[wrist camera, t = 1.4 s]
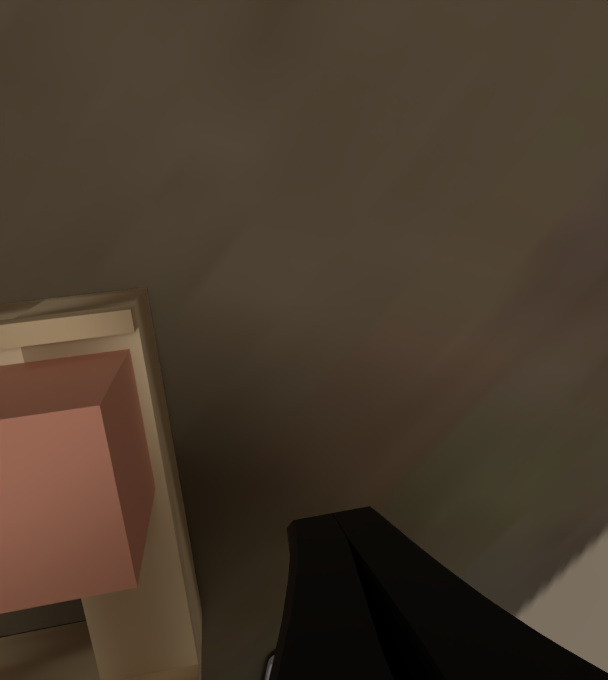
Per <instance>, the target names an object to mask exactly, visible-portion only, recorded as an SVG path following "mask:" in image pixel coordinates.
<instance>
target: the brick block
mask: <svg viewBox="0 0 608 680" xmlns="http://www.w3.org/2000/svg"><path fill="white" fill-rule="evenodd" d="M154 493H155V482H154V477H153V472H152V466H151V461H150V455H149V450H148V445H147V439H146V434H145V428H144V423H143V417H142V412H141V407H140V401H139V396H138V390H137V385H136V380H135V374H134V369H133V363H132V358H131V352H130V349H124V350H117V351H109V352H102V353H94V354H86V355H79V356H71V357H63V358H56V359H48V360H40V361H33V362H25V363H17V364H10V365H2V366H0V614H2V613H7V612H12V611H18V610H23V609H28V608H33V607H38V606H44V605H49V604H54V603H59V602H64V601H70V600H75V599H80V598H85V597H90V596H96V595H101V594H106V593H111V592H116V591H122V590H127V589H132V588H137V586H138V580H139V575H140V570H141V564H142V559H143V553H144V548H145V542H146V537H147V532H148V526H149V521H150V515H151V510H152V504H153V499H154Z"/></svg>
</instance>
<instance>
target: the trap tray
mask: <svg viewBox="0 0 608 680" xmlns="http://www.w3.org/2000/svg"><path fill="white" fill-rule="evenodd" d="M124 349H130V352H131V358H132V363H133V369H134V374H135V380H136V385H137V390H138V396H139V401H140V407H141V412H142V417H143V423H144V428H145V434H146V439H147V445H148V450H149V455H150V461H151V466H152V472H153V477H154V482H155V493H154V499H153V504H152V510H151V515H150V521H149V526H148V532H147V537H146V542H145V548H144V553H143V559H142V564H141V570H140V575H139V580H138V586H137V588H132V589H127V590H122V591H116V592H111V593H106V594H101V595H96V596H90V597H85V598H81V600H82V605H83V609H84V613H85V617H86V621H82V622H77V623H72V624H67V625H62V626H57V627H52V628H47V629H42V630H37V631H31V632H26V633H21V634H16V635H11V636H6V637H1V638H0V680H201V651H202V608H201V602H200V596H199V590H198V585H197V579H196V573H195V567H194V561H193V555H192V549H191V544H190V538H189V532H188V526H187V520H186V514H185V508H184V503H183V497H182V491H181V485H180V479H179V473H178V467H177V462H176V456H175V450H174V444H173V438H172V432H171V426H170V421H169V415H168V409H167V403H166V397H165V391H164V385H163V380H162V374H161V368H160V362H159V356H158V350H157V344H156V339H155V333H154V327H153V321H152V315H151V309H150V303H149V297H148V292H147V287H143V288H135V289H126V290H117V291H109V292H100V293H91V294H83V295H74V296H65V297H57V298H48V299H39V300H31V301H22V302H13V303H5V304H0V366H2V365H10V364H17V363H25V362H33V361H40V360H48V359H56V358H63V357H71V356H79V355H86V354H94V353H102V352H109V351H117V350H124Z"/></svg>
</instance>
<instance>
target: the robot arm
mask: <svg viewBox="0 0 608 680" xmlns="http://www.w3.org/2000/svg"><path fill="white" fill-rule="evenodd" d="M287 533H288V542H289V551H290V564H289V576H288V585H287V592H286V598H285V605H284V611H283V618H282V623H281V628H280V633H279V638H278V642H277V646H276V650H275V655H273V656H272V657H271V658H270V659H269V661H268V664H267V669H266V675H265V680H608V673H607V672H605V671H603V670H601V669H600V668H598V667H596V666H594V665H593V664H591V663H589V662H587V661H586V660H584V659H582V658H580V657H579V656H577V655H575V654H574V653H572V652H570V651H568V650H567V649H565V648H563V647H561V646H560V645H558V644H556V643H555V642H553V641H552V640H550V639H548V638H547V637H545V636H543V635H542V634H540V633H539V632H537V631H535V630H534V629H532V628H531V627H529V626H528V625H526V624H525V623H523V622H522V621H520V620H519V619H517V618H516V617H514V616H513V615H511V614H510V613H508V612H507V611H505V610H504V609H502V608H501V607H499V606H498V605H496V604H495V603H493V602H492V601H490V600H489V599H488V598H486V597H485V596H483V595H482V594H481V593H479V592H478V591H476V590H475V589H474V588H472V587H471V586H470V585H468V584H467V583H466V582H464V581H463V580H462V579H460V578H459V577H458V576H456V575H455V574H454V573H452V572H451V571H450V570H448V569H447V568H446V567H444V566H443V565H442V564H440V563H439V562H438V561H437V560H435V559H434V558H433V557H431V556H430V555H429V554H428V553H426V552H425V551H424V550H423V549H421V548H420V547H419V546H418V545H417V544H415V543H414V542H413V541H412V540H410V539H409V538H408V537H407V536H406V535H404V534H403V533H402V532H401V531H399V530H398V529H397V528H396V527H395V526H393V525H392V524H391V523H390V522H389V521H387V520H386V519H385V518H384V517H383V516H381V515H380V514H379V513H378V512H376V511H375V510H374V509H373V508H371V507H370V506H369V507H364V508H358V509H353V510H347V511H342V512H336V513H331V514H325V515H320V516H314V517H309V518H303V519H298V520H293V521H292V523H291V524H290V525H289V526H288V527H287Z"/></svg>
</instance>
